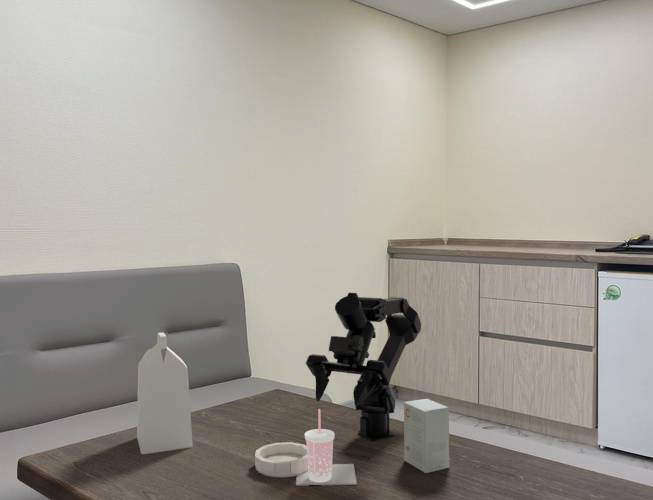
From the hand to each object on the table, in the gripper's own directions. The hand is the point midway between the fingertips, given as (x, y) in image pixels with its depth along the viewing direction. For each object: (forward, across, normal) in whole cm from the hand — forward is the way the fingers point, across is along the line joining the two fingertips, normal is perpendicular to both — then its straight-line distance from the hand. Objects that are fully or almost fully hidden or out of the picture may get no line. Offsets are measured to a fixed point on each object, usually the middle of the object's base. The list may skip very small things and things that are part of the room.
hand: (336, 402), depth 130 cm
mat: (+14, 0, +6) cm, 15 cm away
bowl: (+13, -10, +6) cm, 18 cm away
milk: (+13, -44, +6) cm, 46 cm away
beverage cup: (+15, 0, +4) cm, 16 cm away
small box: (+3, +17, +16) cm, 24 cm away
